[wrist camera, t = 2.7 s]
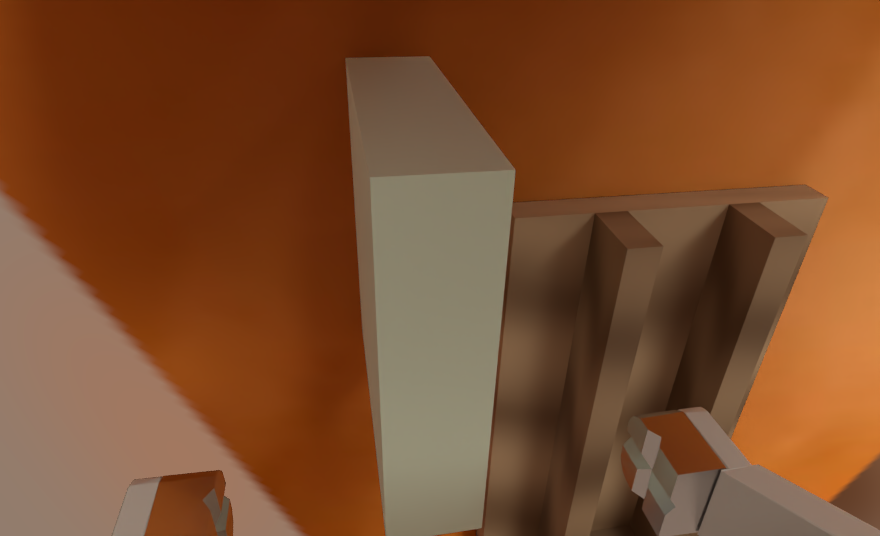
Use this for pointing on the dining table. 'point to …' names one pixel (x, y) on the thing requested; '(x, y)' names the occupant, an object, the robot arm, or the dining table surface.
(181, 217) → the dining table surface
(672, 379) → the track board
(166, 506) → the robot arm
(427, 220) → the door panel
